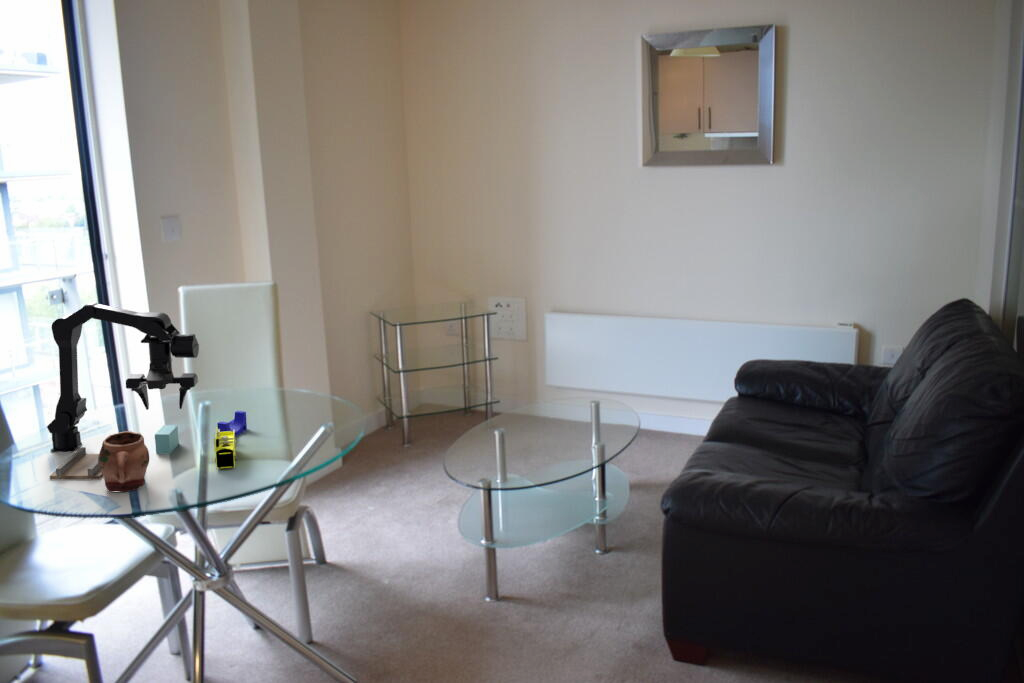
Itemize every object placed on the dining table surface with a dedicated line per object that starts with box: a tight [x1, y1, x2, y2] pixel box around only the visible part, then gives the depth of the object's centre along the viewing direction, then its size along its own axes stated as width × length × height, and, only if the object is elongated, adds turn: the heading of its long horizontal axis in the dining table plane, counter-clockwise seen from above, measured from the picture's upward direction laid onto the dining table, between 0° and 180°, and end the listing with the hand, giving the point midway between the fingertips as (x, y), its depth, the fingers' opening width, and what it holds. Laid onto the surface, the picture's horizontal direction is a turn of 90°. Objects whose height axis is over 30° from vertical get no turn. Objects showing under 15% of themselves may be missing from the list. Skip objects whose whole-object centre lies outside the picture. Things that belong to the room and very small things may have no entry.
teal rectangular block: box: [154, 424, 180, 455], centre depth 255 cm, size 4×8×6 cm, turn 3°
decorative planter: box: [98, 430, 150, 492], centre depth 226 cm, size 20×12×14 cm, turn 25°
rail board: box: [49, 446, 104, 480], centre depth 240 cm, size 13×16×3 cm
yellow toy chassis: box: [213, 426, 237, 470], centre depth 248 cm, size 16×6×8 cm, turn 17°
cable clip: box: [216, 410, 248, 438], centre depth 268 cm, size 12×4×6 cm, turn 169°
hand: (164, 409), depth 253 cm, fingers open, 9 cm apart
